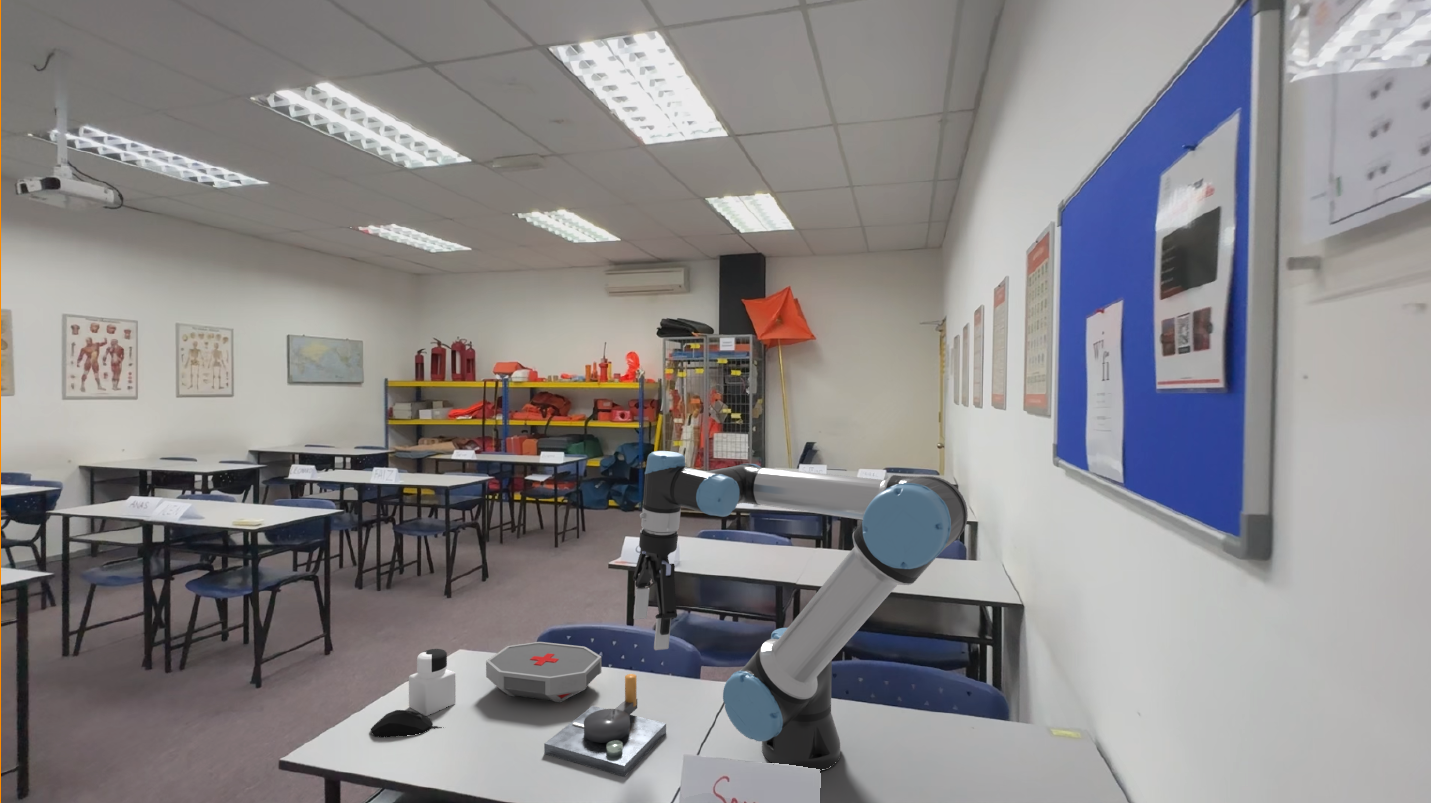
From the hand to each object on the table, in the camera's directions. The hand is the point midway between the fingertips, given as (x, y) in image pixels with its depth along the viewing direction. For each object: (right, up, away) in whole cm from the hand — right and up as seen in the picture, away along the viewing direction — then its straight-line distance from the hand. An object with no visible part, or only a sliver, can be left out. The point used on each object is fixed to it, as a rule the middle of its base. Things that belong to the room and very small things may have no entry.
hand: (650, 632), depth 126 cm
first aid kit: (-27, -22, +21) cm, 40 cm away
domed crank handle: (-7, -19, +1) cm, 20 cm away
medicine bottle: (-50, -22, +14) cm, 56 cm away
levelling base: (-8, -22, -1) cm, 23 cm away
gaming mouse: (-50, -22, +4) cm, 55 cm away
